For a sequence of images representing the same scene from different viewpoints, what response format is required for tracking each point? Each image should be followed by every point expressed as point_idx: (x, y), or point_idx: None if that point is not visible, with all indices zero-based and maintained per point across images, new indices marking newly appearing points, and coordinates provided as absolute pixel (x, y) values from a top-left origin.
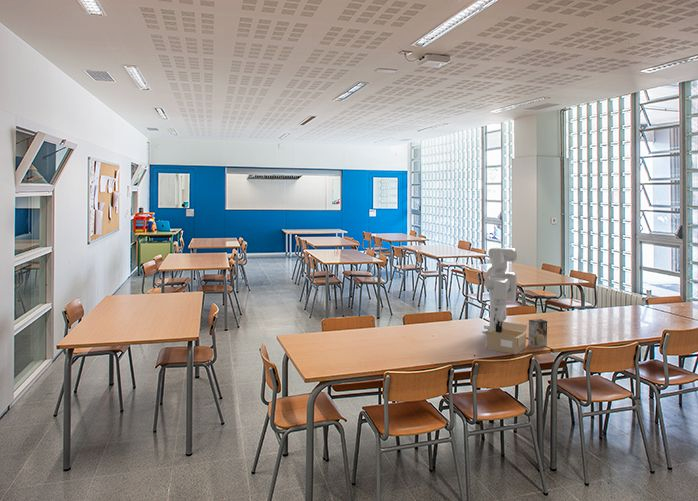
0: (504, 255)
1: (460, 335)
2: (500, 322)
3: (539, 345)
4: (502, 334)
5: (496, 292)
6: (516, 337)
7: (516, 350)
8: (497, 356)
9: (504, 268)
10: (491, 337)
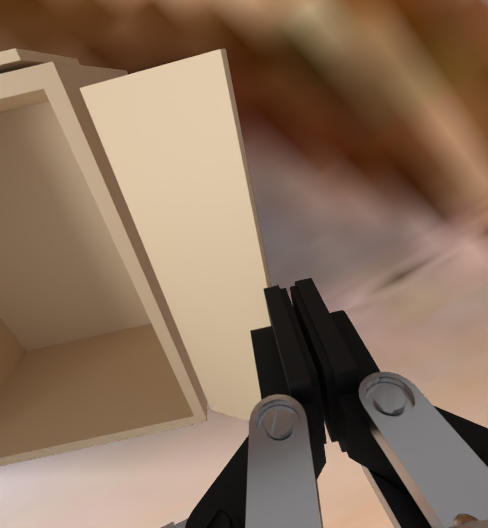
0: None
1: (122, 498)
2: (442, 479)
3: None
4: (240, 260)
5: None
6: (42, 80)
7: (114, 69)
8: (318, 157)
9: None
10: None
